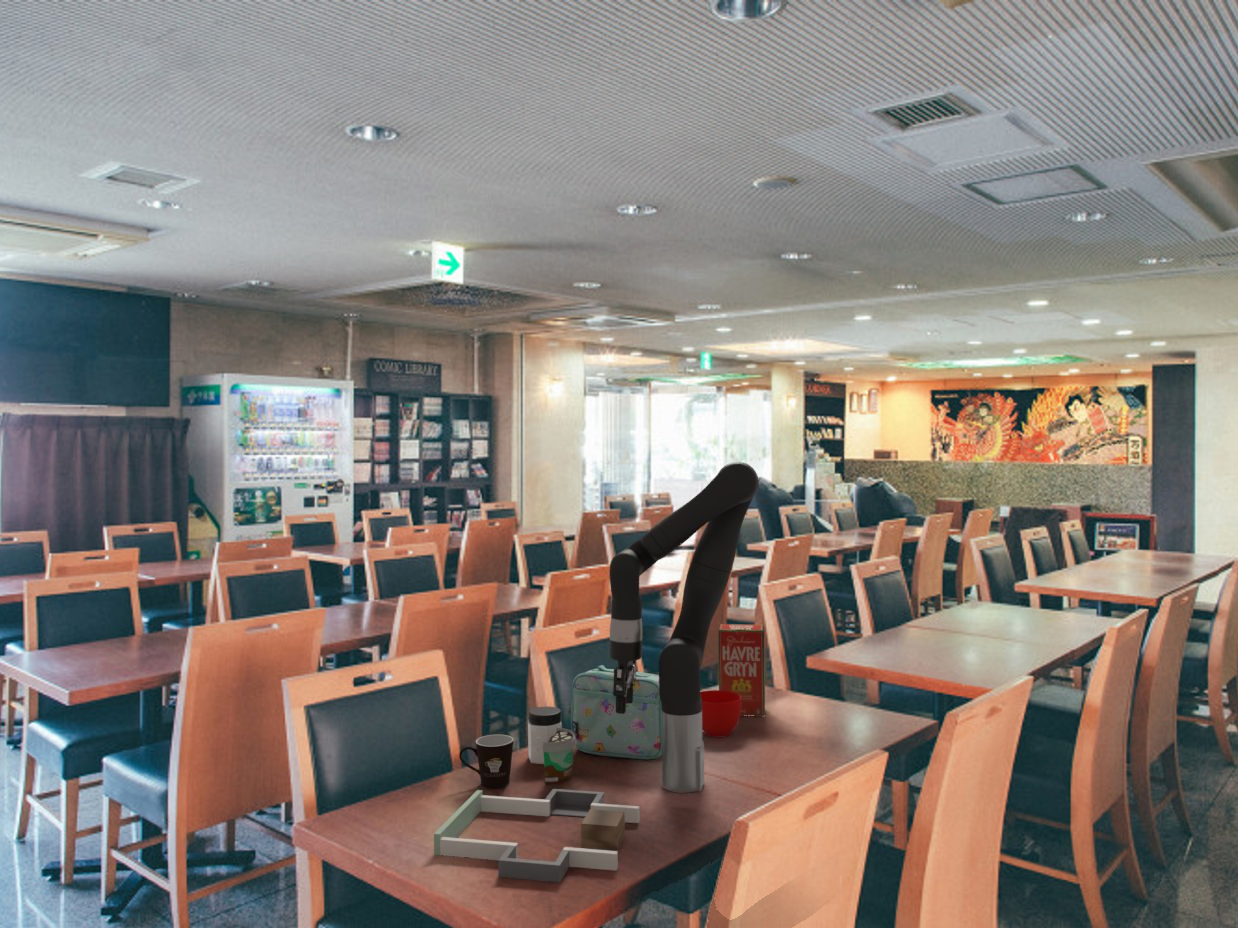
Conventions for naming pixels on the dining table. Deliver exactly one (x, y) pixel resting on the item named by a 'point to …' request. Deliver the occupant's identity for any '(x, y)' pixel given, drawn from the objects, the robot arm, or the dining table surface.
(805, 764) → the dining table surface
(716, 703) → the ceramic cup
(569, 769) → the food container
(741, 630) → the food packaging
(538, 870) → the track
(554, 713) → the jar
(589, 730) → the lunch box
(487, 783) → the coffee mug
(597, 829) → the walnut block
